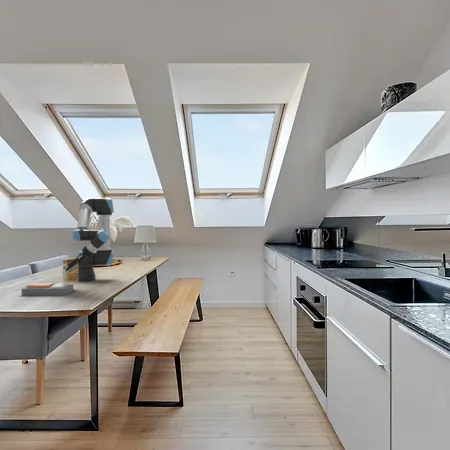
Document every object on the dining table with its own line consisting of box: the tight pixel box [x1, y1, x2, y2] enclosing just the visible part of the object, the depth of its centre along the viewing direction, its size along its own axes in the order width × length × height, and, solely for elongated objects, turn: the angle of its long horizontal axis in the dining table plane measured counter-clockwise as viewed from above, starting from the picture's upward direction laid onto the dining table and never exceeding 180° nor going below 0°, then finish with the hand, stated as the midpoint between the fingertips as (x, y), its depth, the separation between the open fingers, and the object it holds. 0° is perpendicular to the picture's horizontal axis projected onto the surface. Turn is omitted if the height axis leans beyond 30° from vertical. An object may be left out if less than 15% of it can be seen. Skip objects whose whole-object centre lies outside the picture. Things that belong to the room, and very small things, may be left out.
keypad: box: [21, 282, 74, 296], centre depth 222 cm, size 14×26×5 cm, turn 93°
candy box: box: [62, 257, 79, 283], centre depth 235 cm, size 9×4×15 cm, turn 146°
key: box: [26, 282, 55, 288], centre depth 222 cm, size 8×13×2 cm, turn 93°
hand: (66, 272), depth 235 cm, fingers closed on candy box, 9 cm apart
